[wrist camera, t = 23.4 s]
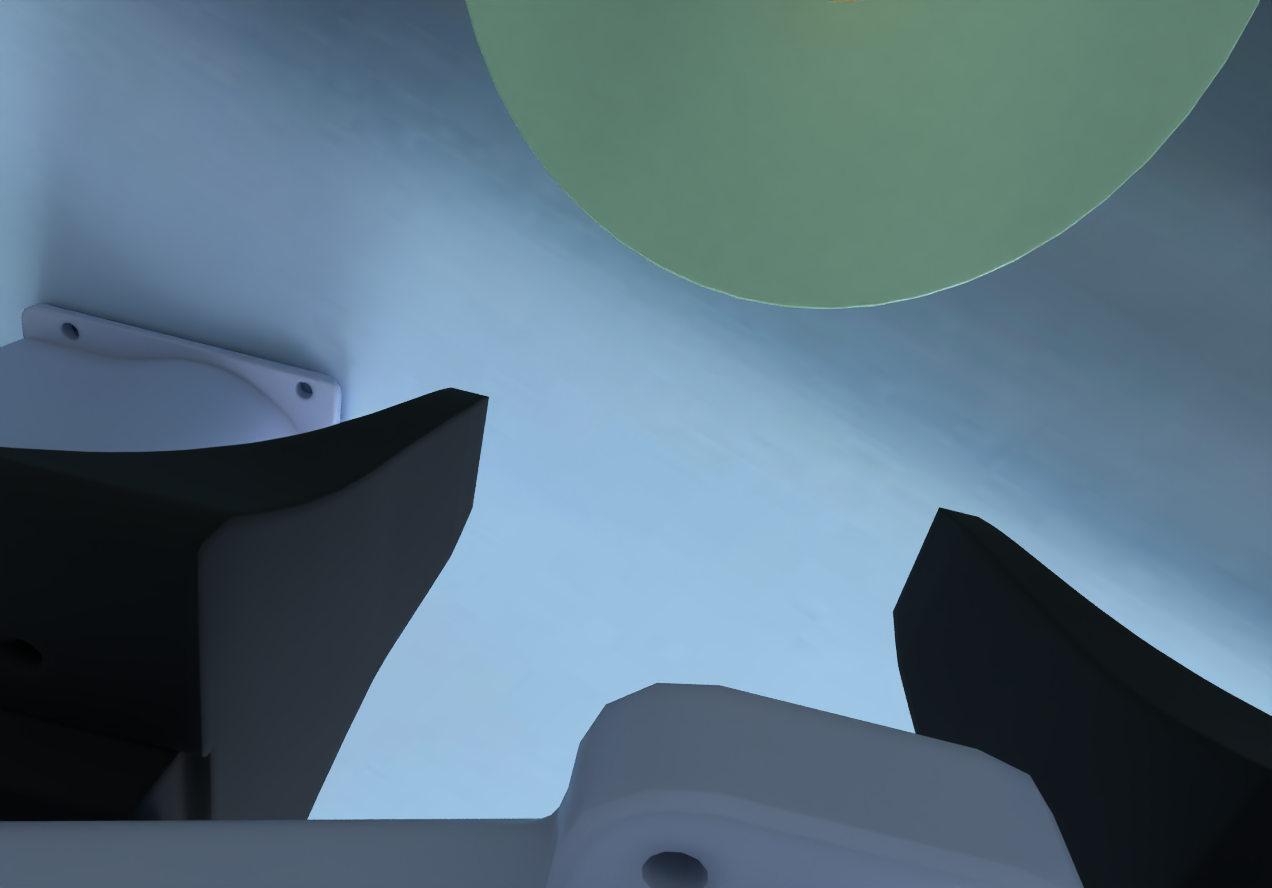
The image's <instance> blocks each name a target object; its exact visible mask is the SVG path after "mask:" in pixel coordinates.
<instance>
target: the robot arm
mask: <svg viewBox="0 0 1272 888" xmlns="http://www.w3.org/2000/svg"><path fill="white" fill-rule="evenodd" d="M71 324H72V325H74V326H75V327H76V328H77V330H78V333H79V335H77V334H76V333H75V332H74V331H73V330H72V327H71ZM22 328H23V336H24V339H21V340H18V341H16V342H13V343H11V344H8V345H6V346H3V347H0V888H1272V716H1270V715H1269V714H1267V713H1265V712H1263V711H1261V710H1259V709H1257V708H1256V707H1254V706H1252V705H1250V704H1248V703H1246V702H1244V701H1243V700H1241V699H1239V698H1237V697H1235V696H1233V695H1231V694H1230V693H1228V692H1226V691H1224V690H1223V689H1221V688H1219V687H1217V686H1216V685H1214V684H1212V683H1210V682H1209V681H1207V680H1205V679H1204V678H1202V677H1200V676H1199V675H1197V674H1195V673H1194V672H1192V671H1191V670H1189V669H1187V668H1186V667H1184V666H1183V665H1181V664H1180V663H1178V662H1176V661H1175V660H1173V659H1172V658H1170V657H1168V656H1167V655H1165V654H1164V653H1162V652H1160V651H1159V650H1157V649H1156V648H1154V647H1153V646H1151V645H1150V644H1148V643H1147V642H1145V641H1144V640H1142V639H1141V638H1139V637H1138V636H1137V635H1135V634H1134V633H1132V632H1131V631H1129V630H1128V629H1127V628H1125V627H1124V626H1123V625H1121V624H1120V623H1118V622H1117V621H1116V620H1114V619H1113V618H1112V617H1110V616H1109V615H1107V614H1106V613H1105V612H1103V611H1102V610H1101V609H1099V608H1098V607H1097V606H1095V605H1094V604H1093V603H1091V602H1090V601H1089V600H1087V599H1086V598H1085V597H1083V596H1082V595H1081V594H1080V593H1078V592H1077V591H1076V590H1074V589H1073V588H1072V587H1071V586H1069V585H1068V584H1067V583H1066V582H1064V581H1063V580H1062V579H1061V578H1059V577H1058V576H1057V575H1056V574H1054V573H1053V572H1052V571H1051V570H1049V569H1048V568H1047V567H1046V566H1044V565H1043V564H1042V563H1041V562H1039V561H1038V560H1037V559H1036V558H1034V557H1033V556H1032V555H1031V554H1029V553H1028V552H1027V551H1026V550H1024V549H1023V548H1022V547H1021V546H1019V545H1018V544H1017V543H1016V542H1014V541H1013V540H1012V539H1010V538H1009V537H1008V536H1006V535H1005V534H1004V533H1002V532H1001V531H1000V530H998V529H997V528H995V527H994V526H992V525H991V524H989V523H988V522H986V521H984V520H983V519H981V518H979V517H976V516H972V515H968V514H964V513H960V512H956V511H952V510H948V509H944V508H940V507H939V509H938V511H937V514H936V516H935V518H934V520H933V523H932V525H931V527H930V529H929V532H928V534H927V536H926V538H925V541H924V543H923V545H922V547H921V550H920V552H919V554H918V556H917V559H916V561H915V563H914V566H913V568H912V570H911V572H910V575H909V577H908V579H907V581H906V584H905V586H904V588H903V590H902V593H901V595H900V597H899V599H898V602H897V604H896V606H895V608H894V611H893V617H894V630H895V643H896V651H897V660H898V667H899V671H900V675H901V680H902V683H903V687H904V691H905V695H906V699H907V703H908V707H909V711H910V714H911V718H912V722H913V726H914V729H915V733H916V734H914V733H910V732H906V731H902V730H898V729H894V728H890V727H886V726H882V725H878V724H874V723H870V722H866V721H862V720H857V719H853V718H849V717H845V716H841V715H837V714H833V713H829V712H825V711H821V710H817V709H813V708H809V707H805V706H801V705H797V704H793V703H789V702H785V701H781V700H777V699H772V698H768V697H764V696H760V695H756V694H752V693H748V692H744V691H740V690H736V689H732V688H728V687H724V686H720V685H696V684H670V683H656V684H653V685H651V686H649V687H646V688H644V689H642V690H639V691H637V692H635V693H632V694H630V695H628V696H625V697H623V698H620V699H618V700H616V701H613V702H611V703H609V704H606V705H605V707H604V708H603V710H602V711H601V712H600V714H599V715H598V717H597V718H596V720H595V721H594V723H593V724H592V726H591V727H590V729H589V730H588V732H587V733H586V735H585V736H584V737H583V739H582V740H581V742H580V744H579V748H578V752H577V756H576V760H575V764H574V768H573V771H572V775H571V779H570V783H569V787H568V790H567V792H566V794H565V796H564V798H563V801H562V803H561V805H560V807H559V808H558V809H557V810H556V811H555V812H554V813H553V814H552V815H550V816H547V817H545V818H542V819H365V820H307V819H308V816H309V814H310V812H311V810H312V807H313V805H314V803H315V801H316V799H317V796H318V794H319V792H320V790H321V788H322V785H323V783H324V781H325V779H326V777H327V775H328V773H329V770H330V768H331V766H332V764H333V762H334V760H335V758H336V756H337V753H338V751H339V749H340V747H341V745H342V743H343V741H344V738H345V736H346V734H347V732H348V730H349V728H350V726H351V724H352V722H353V720H354V718H355V716H356V714H357V712H358V710H359V708H360V706H361V704H362V701H363V699H364V697H365V695H366V693H367V691H368V689H369V687H370V685H371V683H372V681H373V679H374V677H375V676H376V674H377V672H378V670H379V669H380V667H381V665H382V663H383V662H384V660H385V658H386V657H387V655H388V653H389V652H390V650H391V649H392V647H393V646H394V644H395V642H396V641H397V639H398V638H399V636H400V635H401V633H402V632H403V630H404V629H405V627H406V625H407V624H408V622H409V621H410V619H411V618H412V616H413V615H414V613H415V611H416V610H417V608H418V607H419V605H420V604H421V602H422V601H423V599H424V598H425V596H426V594H427V593H428V591H429V590H430V588H431V587H432V585H433V583H434V582H435V580H436V579H437V577H438V576H439V574H440V572H441V571H442V569H443V568H444V566H445V565H446V563H447V561H448V560H449V558H450V556H451V555H452V552H453V550H454V548H455V546H456V544H457V542H458V539H459V537H460V535H461V533H462V531H463V528H464V526H465V524H466V521H467V519H468V517H469V514H470V512H471V510H472V507H473V500H474V493H475V487H476V480H477V473H478V467H479V460H480V453H481V446H482V440H483V433H484V426H485V420H486V413H487V406H488V399H489V397H487V396H483V395H479V394H475V393H471V392H467V391H463V390H459V389H455V388H446V389H442V390H439V391H435V392H432V393H429V394H426V395H423V396H421V397H418V398H415V399H412V400H409V401H407V402H404V403H401V404H398V405H395V406H392V407H389V408H387V409H384V410H381V411H378V412H375V413H372V414H369V415H366V416H362V417H359V418H356V419H352V420H349V421H345V422H342V423H340V416H341V401H342V391H341V387H340V385H339V383H338V382H337V381H336V380H335V379H334V378H333V377H330V376H328V375H325V374H321V373H317V372H313V371H309V370H305V369H302V368H298V367H294V366H290V365H286V364H282V363H278V362H274V361H270V360H266V359H262V358H258V357H254V356H250V355H246V354H242V353H238V352H234V351H230V350H226V349H222V348H218V347H214V346H210V345H206V344H202V343H198V342H194V341H190V340H186V339H182V338H178V337H174V336H170V335H166V334H162V333H158V332H154V331H150V330H146V329H142V328H138V327H134V326H130V325H126V324H122V323H118V322H114V321H110V320H106V319H102V318H98V317H94V316H90V315H87V314H83V313H79V312H75V311H71V310H67V309H63V308H59V307H55V306H51V305H47V304H35V305H32V306H30V307H27V308H25V309H24V311H23V312H22ZM301 382H305V383H307V384H308V385H309V386H310V387H311V389H312V394H309V393H307V392H305V391H304V390H303V388H302V386H301Z"/></svg>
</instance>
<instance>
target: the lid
mask: <svg viewBox="0 0 1272 888" xmlns="http://www.w3.org/2000/svg"><path fill="white" fill-rule="evenodd" d="M1259 1H1260V0H465V2H466V6H467V9H468V13H469V16H470V20H471V23H472V26H473V30H474V33H475V37H476V40H477V44H478V46H479V48H480V51H481V53H482V56H483V58H484V61H485V63H486V65H487V68H488V70H489V73H490V75H491V78H492V80H493V82H494V85H495V87H496V90H497V92H498V94H499V96H500V98H501V99H502V101H503V103H504V105H505V107H506V108H507V110H508V112H509V114H510V116H511V117H512V119H513V121H514V123H515V125H516V126H517V128H518V130H519V132H520V134H521V135H522V137H523V139H524V140H525V141H526V143H527V144H528V146H529V147H530V148H531V150H532V151H533V152H534V154H535V155H536V157H537V158H538V159H539V161H540V162H541V164H542V165H543V166H544V168H545V169H546V170H547V172H548V173H549V175H550V176H551V177H552V178H553V179H554V181H555V182H556V183H557V184H558V185H559V186H560V187H561V188H562V189H563V190H564V191H565V192H566V193H567V195H568V196H569V197H570V198H571V199H572V200H573V201H574V202H575V203H576V204H577V205H578V206H579V207H580V209H581V210H582V211H583V212H584V213H585V214H587V215H588V216H589V217H590V218H591V219H593V220H594V221H595V222H596V223H597V224H599V225H600V226H601V227H602V228H603V229H605V230H606V231H607V232H608V233H609V234H611V235H612V236H613V237H614V238H615V239H616V240H618V241H619V242H620V243H622V244H623V245H625V246H627V247H628V248H630V249H631V250H633V251H634V252H636V253H637V254H639V255H641V256H642V257H644V258H645V259H647V260H648V261H650V262H652V263H653V264H655V265H656V266H658V267H660V268H662V269H664V270H666V271H669V272H671V273H673V274H675V275H677V276H679V277H681V278H683V279H686V280H688V281H690V282H692V283H694V284H696V285H699V286H702V287H705V288H708V289H711V290H714V291H717V292H720V293H724V294H727V295H730V296H733V297H736V298H739V299H744V300H749V301H755V302H760V303H766V304H771V305H777V306H782V307H796V308H815V309H840V308H854V307H868V306H878V305H883V304H888V303H893V302H898V301H903V300H909V299H914V298H919V297H923V296H926V295H929V294H933V293H936V292H939V291H942V290H945V289H948V288H951V287H954V286H957V285H961V284H964V283H967V282H970V281H972V280H974V279H976V278H978V277H981V276H983V275H985V274H987V273H989V272H992V271H994V270H996V269H998V268H1001V267H1003V266H1005V265H1007V264H1009V263H1012V262H1014V261H1016V260H1018V259H1019V258H1021V257H1023V256H1024V255H1026V254H1028V253H1029V252H1031V251H1033V250H1034V249H1036V248H1038V247H1039V246H1041V245H1043V244H1044V243H1046V242H1048V241H1050V240H1051V239H1053V238H1055V237H1056V236H1058V235H1060V234H1061V233H1063V232H1064V231H1065V230H1067V229H1068V228H1069V227H1071V226H1072V225H1073V224H1075V223H1076V222H1077V221H1079V220H1080V219H1081V218H1083V217H1084V216H1085V215H1087V214H1088V213H1089V212H1091V211H1092V210H1093V209H1095V208H1096V207H1097V206H1099V205H1100V204H1101V203H1103V202H1104V201H1105V200H1106V199H1108V198H1109V197H1110V196H1111V195H1112V194H1113V193H1114V192H1115V191H1116V190H1117V189H1118V188H1119V187H1120V186H1122V185H1123V184H1124V183H1125V182H1126V181H1127V180H1128V179H1129V178H1130V177H1131V176H1132V175H1133V174H1134V173H1135V172H1137V171H1138V170H1139V169H1140V168H1141V167H1142V166H1143V165H1144V164H1145V163H1146V162H1147V161H1148V160H1149V159H1150V158H1151V157H1152V156H1153V155H1154V154H1155V152H1156V151H1157V150H1158V149H1159V148H1160V147H1161V146H1162V144H1163V143H1164V142H1165V141H1166V140H1167V139H1168V138H1169V136H1170V135H1171V134H1172V133H1173V132H1174V131H1175V130H1176V128H1177V127H1178V126H1179V125H1180V124H1181V123H1182V122H1183V120H1184V119H1185V118H1186V117H1187V116H1188V115H1189V113H1190V112H1191V111H1192V109H1193V108H1194V106H1195V105H1196V104H1197V102H1198V101H1199V99H1200V98H1201V96H1202V95H1203V94H1204V92H1205V91H1206V89H1207V88H1208V87H1209V85H1210V84H1211V82H1212V81H1213V79H1214V78H1215V77H1216V75H1217V74H1218V72H1219V71H1220V69H1221V68H1222V67H1223V65H1224V64H1225V62H1226V61H1227V59H1228V57H1229V55H1230V54H1231V52H1232V50H1233V48H1234V47H1235V45H1236V43H1237V41H1238V39H1239V38H1240V36H1241V34H1242V32H1243V31H1244V29H1245V27H1246V25H1247V23H1248V22H1249V20H1250V18H1251V16H1252V14H1253V13H1254V11H1255V9H1256V7H1257V6H1258V4H1259Z"/></svg>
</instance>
